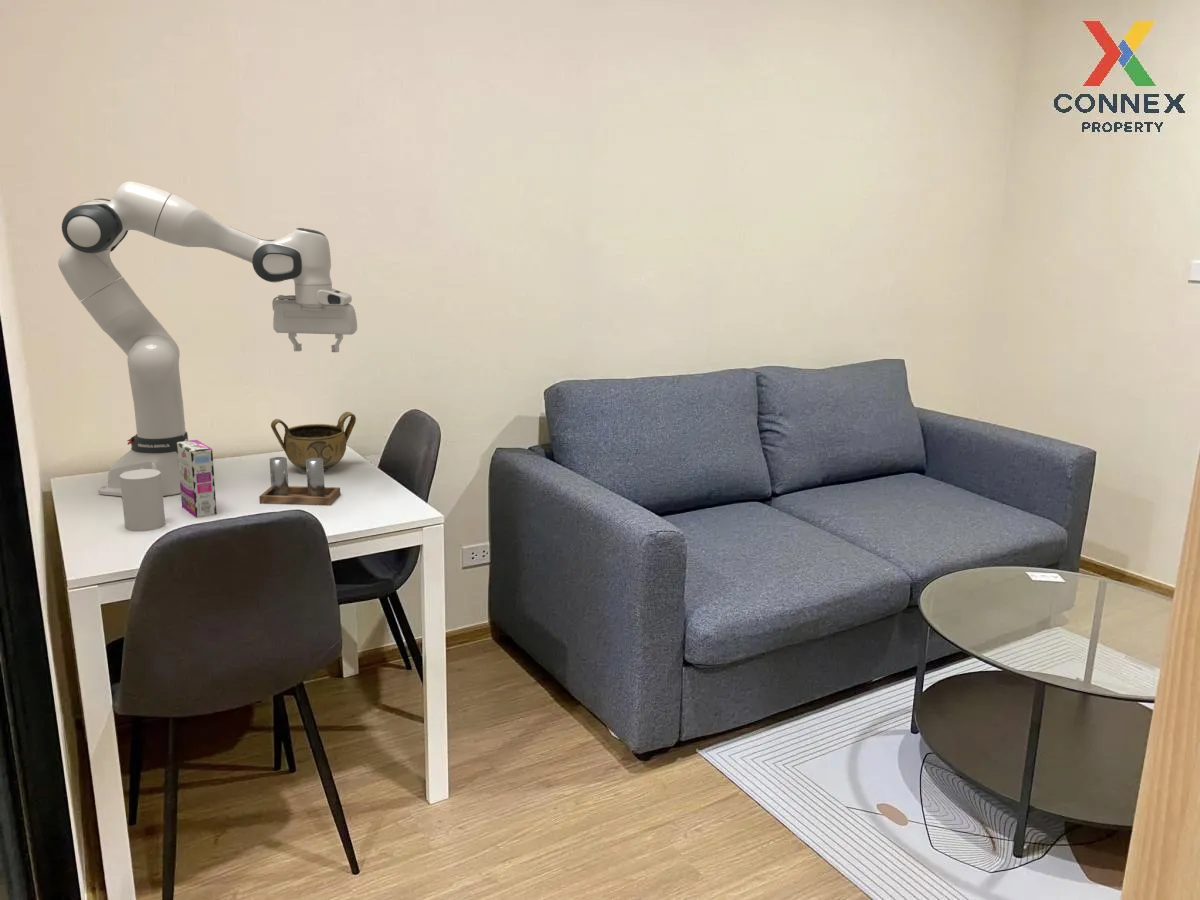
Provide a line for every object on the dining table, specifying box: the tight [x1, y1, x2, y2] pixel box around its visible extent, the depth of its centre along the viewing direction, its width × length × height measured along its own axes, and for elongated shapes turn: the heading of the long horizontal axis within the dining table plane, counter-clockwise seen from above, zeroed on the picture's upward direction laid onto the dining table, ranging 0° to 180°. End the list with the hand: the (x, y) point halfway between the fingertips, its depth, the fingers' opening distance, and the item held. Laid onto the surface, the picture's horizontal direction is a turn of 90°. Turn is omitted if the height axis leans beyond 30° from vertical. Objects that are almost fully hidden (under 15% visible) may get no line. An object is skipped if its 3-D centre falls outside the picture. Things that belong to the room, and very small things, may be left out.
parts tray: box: [258, 485, 341, 507], centre depth 229 cm, size 17×9×2 cm, turn 90°
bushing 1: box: [269, 456, 289, 496], centre depth 228 cm, size 4×4×10 cm
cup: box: [120, 469, 166, 532], centre depth 208 cm, size 8×8×12 cm
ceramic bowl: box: [270, 411, 357, 471], centre depth 256 cm, size 22×17×15 cm
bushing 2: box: [305, 458, 326, 497], centre depth 228 cm, size 4×4×10 cm
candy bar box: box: [177, 439, 218, 519], centre depth 217 cm, size 11×5×16 cm, turn 40°
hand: (316, 351), depth 234 cm, fingers open, 8 cm apart
